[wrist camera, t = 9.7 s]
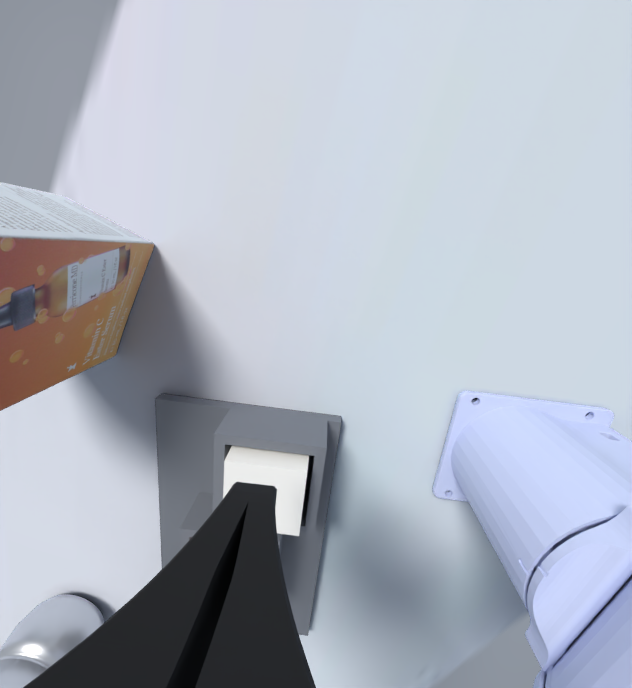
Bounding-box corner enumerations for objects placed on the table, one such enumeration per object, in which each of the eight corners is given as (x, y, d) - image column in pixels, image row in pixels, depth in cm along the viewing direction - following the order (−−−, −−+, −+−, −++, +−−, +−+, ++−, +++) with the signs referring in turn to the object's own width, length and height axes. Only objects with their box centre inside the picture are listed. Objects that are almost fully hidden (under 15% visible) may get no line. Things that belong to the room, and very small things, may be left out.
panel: (341, 414, 21) (343, 450, 17) (308, 625, 27) (304, 684, 23) (161, 392, 21) (125, 422, 17) (168, 606, 27) (143, 662, 23)
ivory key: (310, 443, 19) (307, 471, 17) (303, 502, 20) (299, 536, 18) (237, 434, 19) (224, 461, 17) (235, 493, 20) (222, 526, 18)
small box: (117, 356, 20) (-91, 462, 10) (33, 315, 20) (-272, 385, 10) (159, 242, 18) (-55, 234, 8) (66, 192, 18) (-286, 118, 8)
